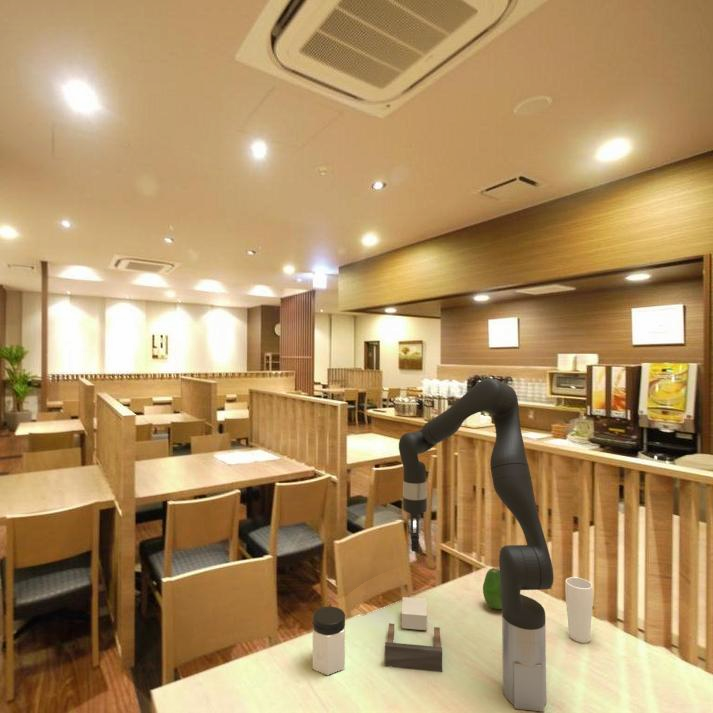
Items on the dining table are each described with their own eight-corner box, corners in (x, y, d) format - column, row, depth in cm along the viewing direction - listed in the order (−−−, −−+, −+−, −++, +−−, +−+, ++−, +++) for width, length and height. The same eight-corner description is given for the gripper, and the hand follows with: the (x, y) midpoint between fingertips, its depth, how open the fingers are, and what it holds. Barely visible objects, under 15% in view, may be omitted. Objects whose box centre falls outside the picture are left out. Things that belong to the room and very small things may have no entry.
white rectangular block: (426, 632, 122) (426, 615, 122) (401, 630, 123) (401, 613, 123) (426, 614, 131) (426, 598, 131) (402, 612, 132) (402, 597, 132)
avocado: (477, 604, 136) (477, 565, 137) (497, 599, 139) (497, 561, 140) (495, 618, 129) (494, 577, 129) (515, 612, 132) (515, 572, 132)
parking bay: (442, 671, 106) (442, 651, 106) (385, 666, 108) (384, 645, 108) (439, 636, 120) (439, 618, 120) (388, 632, 122) (388, 614, 122)
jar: (304, 667, 108) (304, 618, 108) (323, 648, 115) (323, 602, 115) (335, 680, 103) (335, 628, 104) (352, 660, 110) (352, 612, 111)
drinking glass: (587, 631, 122) (586, 577, 123) (598, 646, 116) (597, 589, 116) (562, 629, 123) (561, 576, 123) (571, 645, 116) (570, 588, 117)
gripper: (427, 502, 131) (427, 560, 130) (426, 489, 144) (426, 542, 143) (401, 501, 132) (402, 559, 131) (403, 488, 145) (403, 541, 144)
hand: (414, 550), depth 137 cm, fingers closed
